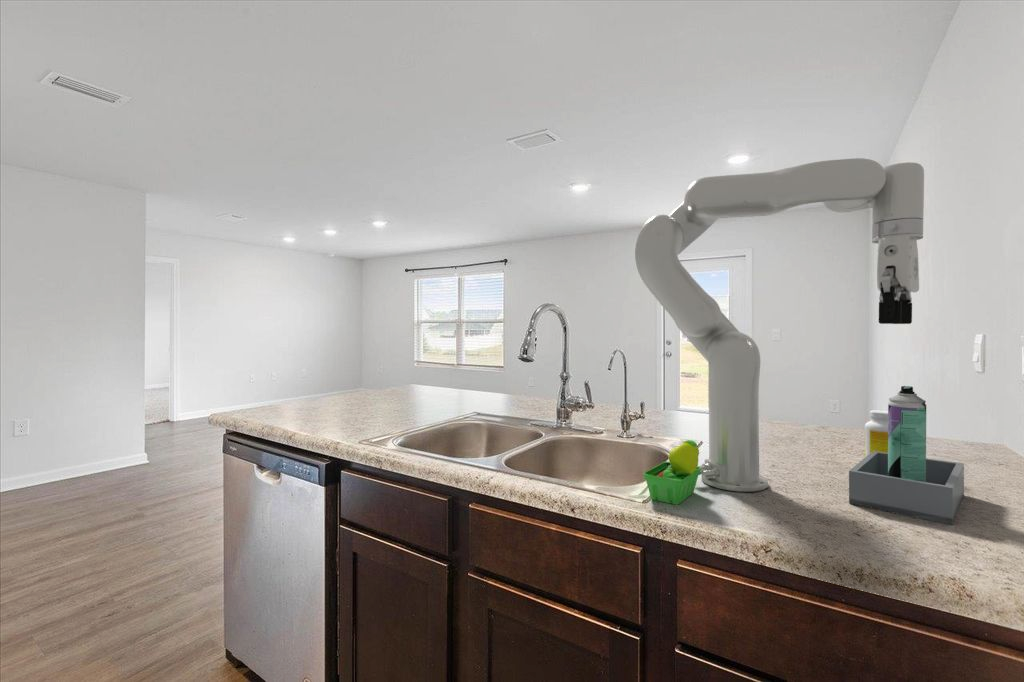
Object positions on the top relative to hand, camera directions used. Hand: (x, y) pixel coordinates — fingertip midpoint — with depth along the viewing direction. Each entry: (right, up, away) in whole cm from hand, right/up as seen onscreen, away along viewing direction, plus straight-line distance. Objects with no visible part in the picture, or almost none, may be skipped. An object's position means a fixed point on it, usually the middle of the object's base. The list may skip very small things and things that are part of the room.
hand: (895, 323), depth 91 cm
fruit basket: (-41, -34, +2) cm, 53 cm away
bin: (+1, -33, -1) cm, 33 cm away
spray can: (+1, -32, -1) cm, 32 cm away
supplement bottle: (+12, -32, +19) cm, 39 cm away
